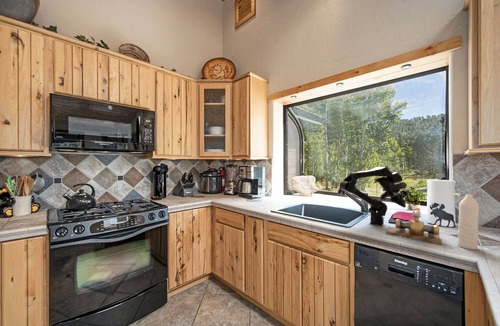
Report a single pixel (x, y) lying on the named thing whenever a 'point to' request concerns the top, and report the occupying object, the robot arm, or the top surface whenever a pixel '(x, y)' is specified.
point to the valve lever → (417, 212)
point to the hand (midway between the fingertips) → (405, 207)
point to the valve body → (417, 227)
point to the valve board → (423, 238)
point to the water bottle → (468, 222)
